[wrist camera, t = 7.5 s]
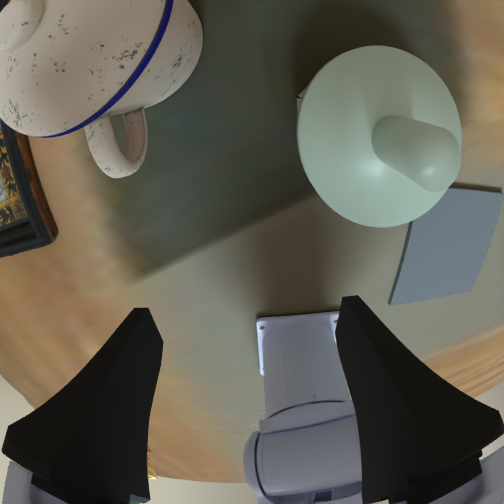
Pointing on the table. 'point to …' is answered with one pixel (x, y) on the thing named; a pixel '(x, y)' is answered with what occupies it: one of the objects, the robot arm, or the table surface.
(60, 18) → the teacup with lid
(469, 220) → the mat
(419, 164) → the lid
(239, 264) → the table surface
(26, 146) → the framed painting
